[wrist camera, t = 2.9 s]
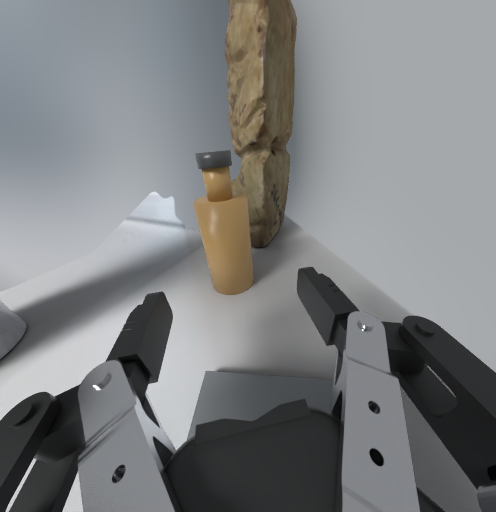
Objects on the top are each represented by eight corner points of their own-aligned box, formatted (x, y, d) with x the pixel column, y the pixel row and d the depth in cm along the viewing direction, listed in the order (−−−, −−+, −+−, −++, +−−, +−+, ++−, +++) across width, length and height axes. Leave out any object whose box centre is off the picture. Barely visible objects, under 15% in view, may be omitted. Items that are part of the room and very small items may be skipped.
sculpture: (252, 222, 42) (239, 32, 26) (290, 226, 38) (301, 5, 22) (223, 245, 33) (176, -22, 17) (269, 254, 29) (263, -83, 13)
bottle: (207, 294, 22) (170, 156, 14) (218, 268, 27) (194, 153, 19) (252, 295, 21) (238, 149, 14) (255, 268, 26) (246, 148, 18)
